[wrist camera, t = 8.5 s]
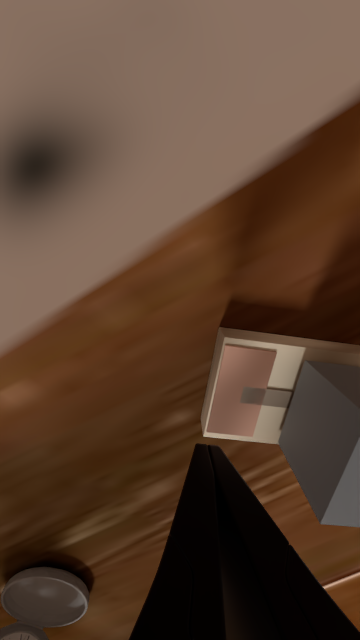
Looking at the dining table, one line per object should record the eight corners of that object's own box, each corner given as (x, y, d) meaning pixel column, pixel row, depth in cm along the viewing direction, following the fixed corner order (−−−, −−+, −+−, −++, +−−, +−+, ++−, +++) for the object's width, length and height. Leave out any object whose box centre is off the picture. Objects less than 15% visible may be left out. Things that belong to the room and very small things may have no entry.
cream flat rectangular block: (424, 353, 14) (455, 367, 12) (383, 437, 15) (405, 458, 14) (219, 326, 13) (224, 337, 11) (200, 417, 15) (203, 437, 13)
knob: (382, 369, 12) (482, 429, 8) (347, 449, 13) (416, 532, 9) (305, 360, 12) (368, 416, 8) (277, 442, 13) (320, 523, 9)
